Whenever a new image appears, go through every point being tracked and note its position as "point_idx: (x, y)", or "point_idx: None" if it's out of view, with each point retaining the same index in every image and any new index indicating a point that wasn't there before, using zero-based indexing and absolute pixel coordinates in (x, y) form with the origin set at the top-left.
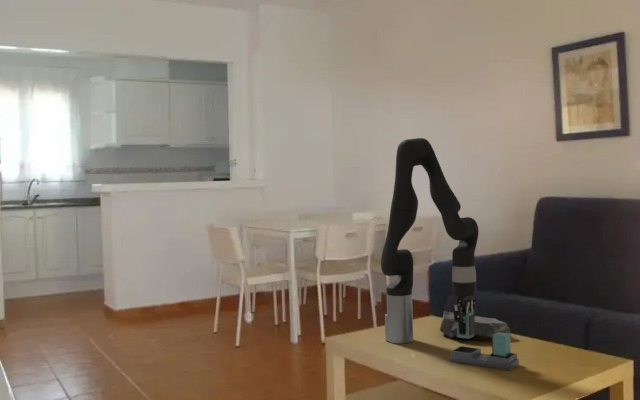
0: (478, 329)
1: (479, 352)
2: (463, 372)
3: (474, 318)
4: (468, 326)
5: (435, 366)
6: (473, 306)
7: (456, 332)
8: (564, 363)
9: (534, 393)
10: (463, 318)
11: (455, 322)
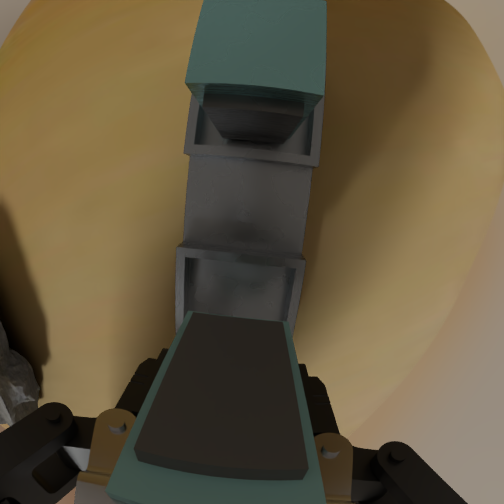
0: None
1: (199, 245)
2: (408, 246)
3: (150, 409)
4: (302, 387)
5: (360, 361)
6: (8, 484)
7: (31, 384)
8: None
9: (468, 26)
10: (347, 479)
11: (13, 404)
